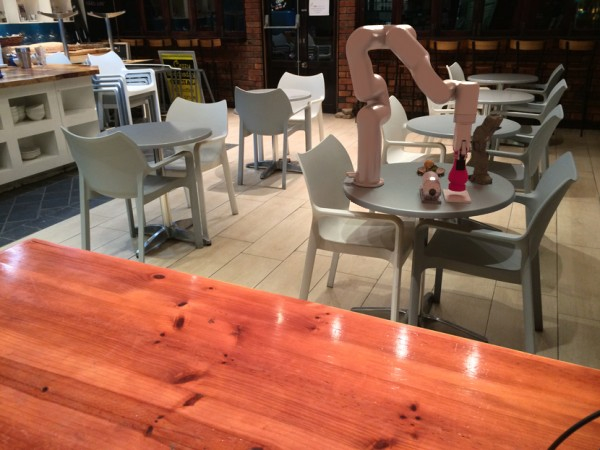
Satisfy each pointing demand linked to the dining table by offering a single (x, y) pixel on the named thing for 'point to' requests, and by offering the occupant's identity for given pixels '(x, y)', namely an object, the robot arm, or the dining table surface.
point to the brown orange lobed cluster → (430, 168)
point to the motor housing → (430, 188)
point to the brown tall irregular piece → (483, 148)
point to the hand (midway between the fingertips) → (459, 167)
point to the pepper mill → (457, 175)
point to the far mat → (456, 196)
